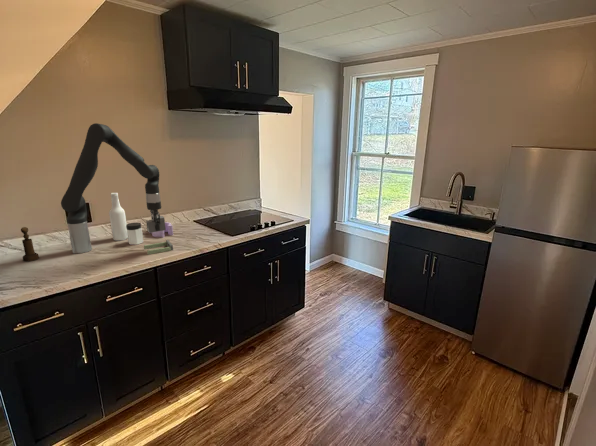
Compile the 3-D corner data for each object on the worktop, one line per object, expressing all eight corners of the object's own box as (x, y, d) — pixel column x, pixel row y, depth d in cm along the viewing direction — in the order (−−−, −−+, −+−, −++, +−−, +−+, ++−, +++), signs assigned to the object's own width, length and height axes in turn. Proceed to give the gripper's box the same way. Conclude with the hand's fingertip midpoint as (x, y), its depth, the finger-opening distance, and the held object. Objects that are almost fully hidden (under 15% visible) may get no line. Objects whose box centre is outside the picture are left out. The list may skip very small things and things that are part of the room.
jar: (137, 239, 203) (135, 221, 200) (146, 241, 200) (144, 223, 196) (125, 243, 195) (122, 225, 192) (134, 245, 192) (131, 226, 189)
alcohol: (118, 241, 198) (111, 194, 190) (110, 239, 202) (102, 193, 194) (131, 237, 206) (125, 192, 197) (122, 235, 209) (116, 191, 201)
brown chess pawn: (37, 256, 174) (30, 224, 169) (40, 259, 170) (33, 227, 165) (22, 259, 169) (14, 227, 164) (24, 262, 165) (17, 230, 160)
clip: (143, 232, 217) (142, 223, 215) (160, 228, 226) (159, 219, 224) (159, 238, 205) (158, 228, 203) (176, 234, 215) (175, 224, 213)
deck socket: (147, 254, 178) (147, 249, 178) (144, 248, 187) (143, 243, 187) (173, 250, 186) (172, 245, 185) (168, 244, 195) (168, 239, 194)
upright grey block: (149, 232, 179) (147, 219, 177) (147, 230, 183) (145, 217, 181) (165, 230, 184) (164, 217, 182) (163, 228, 188) (162, 215, 186)
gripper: (144, 199, 182) (147, 227, 187) (148, 203, 171) (152, 233, 176) (157, 197, 186) (160, 225, 191) (163, 202, 175) (166, 231, 180)
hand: (156, 229), depth 183 cm, fingers closed on upright grey block, 5 cm apart
